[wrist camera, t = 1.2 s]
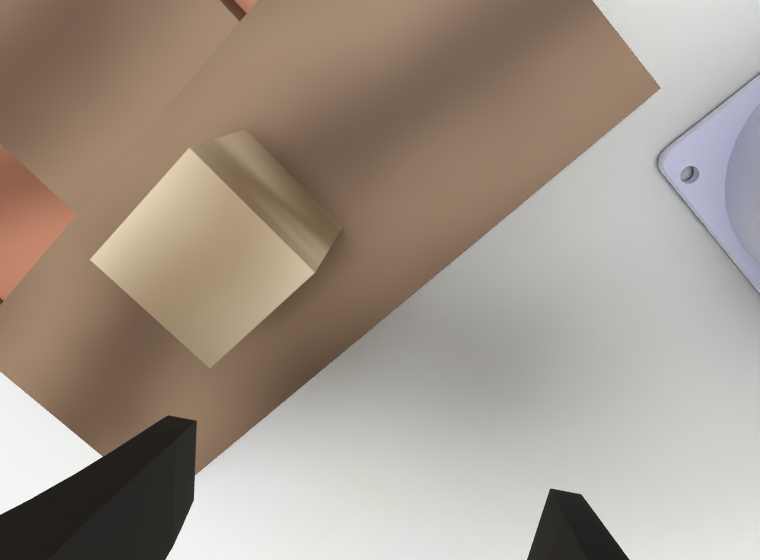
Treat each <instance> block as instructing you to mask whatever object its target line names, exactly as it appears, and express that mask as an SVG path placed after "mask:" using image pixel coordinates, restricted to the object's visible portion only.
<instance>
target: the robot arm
mask: <svg viewBox="0 0 760 560" xmlns="http://www.w3.org/2000/svg"><path fill="white" fill-rule="evenodd" d="M658 162H659V168H660V170H661V172H662V174H663V175H664V176H665V177H666V178H667V180H668V181H669V182H670V183H671V185H672V186H673V187H674V188H675V190H676V191H677V192H678V193H679V195H680V196H681V197H682V198H683V199H684V201H685V202H686V203H687V204H688V206H689V207H690V208H691V209H692V211H693V212H694V213H695V214H696V216H697V217H698V218H699V219H700V221H701V222H702V223H703V224H704V225H705V227H706V228H707V229H708V230H709V232H710V233H711V234H712V235H713V237H714V238H715V239H716V240H717V242H718V243H719V244H720V245H721V246H722V248H723V249H724V250H725V251H726V253H727V254H728V255H729V256H730V258H731V259H732V260H733V261H734V263H735V264H736V265H737V266H738V267H739V269H740V270H741V271H742V272H743V274H744V275H745V276H746V277H747V279H748V280H749V281H750V282H751V284H752V285H753V286H754V287H755V288H756V290H757V291H758V292H759V293H760V74H759V75H758V76H757V77H756V78H754V79H753V80H752V81H750V82H749V83H748V84H747V85H745V86H744V87H743V88H742V89H740V90H739V91H738V92H737V93H735V94H734V95H733V96H731V97H730V98H729V99H728V100H726V101H725V102H724V103H723V104H721V105H720V106H719V107H718V108H716V109H715V110H714V111H713V112H711V113H710V114H709V115H707V116H706V117H705V118H704V119H702V120H701V121H700V122H699V123H697V124H696V125H695V126H694V127H692V128H691V129H690V130H688V131H687V132H686V133H685V134H683V135H682V136H681V137H680V138H678V139H677V140H676V141H675V142H673V143H672V144H671V145H670V146H668V147H667V148H666V149H665V150H664V151H663V152H662V153H661V155H660V158H659V160H658ZM689 166H692V167H693V169H694V174H693V176H692V177H691V178H690V179H689V180H687V181H682V180H681V178H680V176H681V172H682V171H683V170H684V168H686V167H689ZM196 431H197V421H196V420H191V419H185V418H180V417H175V416H170V415H168V416H166V417H164V418H163V419H161V420H159V421H158V422H156V423H155V424H153V425H152V426H150V427H149V428H147V429H145V430H144V431H142V432H141V433H139V434H138V435H136V436H135V437H133V438H132V439H130V440H128V441H127V442H125V443H124V444H122V445H121V446H119V447H118V448H116V449H114V450H113V451H111V452H110V453H108V454H107V455H105V456H103V457H102V458H100V459H99V460H97V461H95V462H94V463H92V464H91V465H89V466H87V467H86V468H84V469H82V470H81V471H79V472H78V473H76V474H74V475H72V476H71V477H69V478H67V479H65V480H64V481H62V482H60V483H58V484H56V485H55V486H53V487H51V488H49V489H48V490H46V491H44V492H42V493H41V494H39V495H37V496H35V497H34V498H32V499H30V500H28V501H26V502H24V503H22V504H21V505H19V506H17V507H15V508H13V509H11V510H9V511H7V512H5V513H3V514H1V515H0V560H165V559H166V557H167V556H168V554H169V552H170V551H171V549H172V547H173V545H174V543H175V541H176V539H177V536H178V534H179V532H180V530H181V528H182V526H183V523H184V521H185V519H186V517H187V514H188V512H189V510H190V507H191V505H192V503H193V500H194V481H195V456H196ZM527 560H629V558H628V557H627V556H626V554H625V553H624V552H623V550H622V549H621V548H620V546H619V545H618V544H617V542H616V541H615V540H614V538H613V537H612V536H611V534H610V533H609V531H608V530H607V529H606V527H605V526H604V525H603V523H602V522H601V520H600V519H599V518H598V516H597V515H596V514H595V512H594V511H593V510H592V508H591V507H590V505H589V504H588V503H587V501H586V500H585V499H584V498H583V496H582V495H581V494H576V493H571V492H566V491H561V490H555V489H550V491H549V494H548V497H547V500H546V503H545V506H544V509H543V513H542V516H541V519H540V522H539V525H538V528H537V531H536V534H535V537H534V540H533V543H532V547H531V550H530V553H529V556H528V559H527Z"/></svg>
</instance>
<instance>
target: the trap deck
mask: <svg viewBox="0 0 760 560" xmlns="http://www.w3.org/2000/svg"><path fill="white" fill-rule="evenodd" d="M659 89H660V87H659V85H658V84H657V83H656V81H655V80H654V79H653V78H652V76H651V75H650V74H649V72H648V71H647V70H646V69H645V67H644V66H643V65H642V63H641V62H640V61H639V60H638V58H637V57H636V56H635V55H634V53H633V52H632V51H631V49H630V48H629V47H628V46H627V44H626V43H625V42H624V40H623V39H622V38H621V37H620V35H619V34H618V33H617V31H616V30H615V29H614V28H613V26H612V25H611V24H610V23H609V21H608V20H607V19H606V17H605V16H604V15H603V14H602V12H601V11H600V10H599V8H598V7H597V6H596V5H595V3H594V2H593V1H592V0H0V372H2V373H3V374H4V375H5V376H6V377H8V378H9V379H10V380H11V381H12V382H14V383H15V384H16V385H17V386H19V387H20V388H21V389H22V390H23V391H25V392H26V393H27V394H28V395H29V396H31V397H32V398H33V399H34V400H35V401H37V402H38V403H39V404H40V405H41V406H43V407H44V408H45V409H46V410H47V411H49V412H50V413H51V414H52V415H53V416H55V417H56V418H57V419H58V420H60V421H61V422H62V423H63V424H64V425H66V426H67V427H68V428H69V429H70V430H72V431H73V432H74V433H75V434H76V435H78V436H79V437H80V438H81V439H82V440H84V441H85V442H86V443H87V444H88V445H90V446H91V447H92V448H93V449H94V450H96V451H97V452H98V453H99V454H101V455H102V456H105V455H107V454H108V453H110V452H111V451H113V450H114V449H116V448H118V447H119V446H121V445H122V444H124V443H125V442H127V441H128V440H130V439H132V438H133V437H135V436H136V435H138V434H139V433H141V432H142V431H144V430H145V429H147V428H149V427H150V426H152V425H153V424H155V423H156V422H158V421H159V420H161V419H163V418H164V417H166V416H168V415H170V416H175V417H180V418H185V419H191V420H196V421H197V431H196V456H195V475H196V474H197V473H198V472H199V471H201V470H202V469H203V468H204V467H205V466H207V465H208V464H209V463H210V462H211V461H213V460H214V459H215V458H216V457H217V456H219V455H220V454H221V453H222V452H224V451H225V450H226V449H227V448H228V447H230V446H231V445H232V444H233V443H234V442H236V441H237V440H238V439H239V438H240V437H242V436H243V435H244V434H245V433H246V432H248V431H249V430H250V429H251V428H252V427H254V426H255V425H256V424H257V423H258V422H260V421H261V420H262V419H263V418H264V417H266V416H267V415H268V414H269V413H270V412H272V411H273V410H274V409H275V408H276V407H278V406H279V405H280V404H281V403H282V402H284V401H285V400H286V399H287V398H288V397H290V396H291V395H292V394H293V393H295V392H296V391H297V390H298V389H299V388H301V387H302V386H303V385H304V384H305V383H307V382H308V381H309V380H310V379H311V378H313V377H314V376H315V375H316V374H317V373H319V372H320V371H321V370H322V369H323V368H325V367H326V366H327V365H328V364H329V363H331V362H332V361H333V360H334V359H335V358H337V357H338V356H339V355H340V354H341V353H343V352H344V351H345V350H346V349H347V348H349V347H350V346H351V345H352V344H353V343H355V342H356V341H357V340H358V339H359V338H361V337H362V336H363V335H364V334H366V333H367V332H368V331H369V330H370V329H372V328H373V327H374V326H375V325H376V324H378V323H379V322H380V321H381V320H382V319H384V318H385V317H386V316H387V315H388V314H390V313H391V312H392V311H393V310H394V309H396V308H397V307H398V306H399V305H400V304H402V303H403V302H404V301H405V300H406V299H408V298H409V297H410V296H411V295H412V294H414V293H415V292H416V291H417V290H418V289H420V288H421V287H422V286H423V285H424V284H426V283H427V282H428V281H429V280H430V279H432V278H433V277H434V276H435V275H437V274H438V273H439V272H440V271H441V270H443V269H444V268H445V267H446V266H447V265H449V264H450V263H451V262H452V261H453V260H455V259H456V258H457V257H458V256H459V255H461V254H462V253H463V252H464V251H465V250H467V249H468V248H469V247H470V246H471V245H473V244H474V243H475V242H476V241H477V240H479V239H480V238H481V237H482V236H483V235H485V234H486V233H487V232H488V231H489V230H491V229H492V228H493V227H494V226H495V225H497V224H498V223H499V222H500V221H502V220H503V219H504V218H505V217H506V216H508V215H509V214H510V213H511V212H512V211H514V210H515V209H516V208H517V207H518V206H520V205H521V204H522V203H523V202H524V201H526V200H527V199H528V198H529V197H530V196H532V195H533V194H534V193H535V192H536V191H538V190H539V189H540V188H541V187H542V186H544V185H545V184H546V183H547V182H548V181H550V180H551V179H552V178H553V177H554V176H556V175H557V174H558V173H559V172H560V171H562V170H563V169H564V168H565V167H566V166H568V165H569V164H570V163H571V162H573V161H574V160H575V159H576V158H577V157H579V156H580V155H581V154H582V153H583V152H585V151H586V150H587V149H588V148H589V147H591V146H592V145H593V144H594V143H595V142H597V141H598V140H599V139H600V138H601V137H603V136H604V135H605V134H606V133H607V132H609V131H610V130H611V129H612V128H613V127H615V126H616V125H617V124H618V123H619V122H621V121H622V120H623V119H624V118H625V117H627V116H628V115H629V114H630V113H631V112H633V111H634V110H635V109H636V108H637V107H639V106H640V105H641V104H642V103H644V102H645V101H646V100H647V99H648V98H650V97H651V96H652V95H653V94H654V93H656V92H657V91H658V90H659ZM243 129H247V130H248V131H249V132H250V133H251V134H252V135H253V136H254V137H255V138H256V139H257V140H258V141H259V142H260V143H261V144H262V145H263V147H264V148H265V149H266V150H267V151H268V152H269V153H270V154H271V155H272V156H273V157H274V158H275V159H276V160H277V161H278V162H279V163H280V164H281V165H282V166H283V167H284V168H285V169H286V170H287V171H288V172H289V173H290V174H291V175H292V176H293V177H294V178H295V179H296V180H297V181H298V182H299V183H300V185H301V186H302V187H303V188H304V189H305V190H306V191H307V192H308V193H309V194H310V195H311V196H312V197H313V198H314V199H315V200H316V201H317V202H318V203H319V204H320V205H321V206H322V207H323V208H324V209H325V210H326V211H327V212H328V213H329V214H330V215H331V216H332V217H333V218H334V219H335V220H336V222H337V223H338V224H339V225H340V226H341V227H342V229H341V231H340V233H339V234H338V236H337V238H336V239H335V241H334V242H333V244H332V246H331V247H330V249H329V251H328V252H327V254H326V256H325V257H324V259H323V260H322V262H321V264H320V265H319V267H318V269H317V270H316V272H315V273H314V274H313V275H312V276H311V277H310V278H309V279H307V280H306V281H305V282H304V283H303V284H302V285H301V286H300V287H299V288H298V289H296V290H295V291H294V292H293V293H292V294H291V295H290V296H289V297H288V298H287V299H286V300H284V301H283V302H282V303H281V304H280V305H279V306H278V307H277V308H276V309H275V310H273V311H272V312H271V313H270V314H269V315H268V316H267V317H266V318H265V319H264V320H263V321H261V322H260V323H259V324H258V325H257V326H256V327H255V328H254V329H253V330H252V331H250V332H249V333H248V334H247V335H246V336H245V337H244V338H243V339H242V340H241V341H240V342H238V343H237V344H236V345H235V346H234V347H233V348H232V349H231V350H230V351H229V352H227V353H226V354H225V355H224V356H223V357H222V358H221V359H220V360H219V361H218V362H216V363H215V364H214V365H213V366H212V367H211V368H209V367H208V366H207V365H205V364H204V363H203V362H202V361H201V360H200V359H199V358H198V357H197V356H196V355H194V354H193V353H192V352H191V351H190V350H189V349H188V348H187V347H186V346H184V345H183V344H182V343H181V342H180V341H179V340H178V339H177V338H176V337H175V336H173V335H172V334H171V333H170V332H169V331H168V330H167V329H166V328H165V327H164V326H162V325H161V324H160V323H159V322H158V321H157V320H156V319H155V318H154V317H153V316H151V315H150V314H149V313H148V312H147V311H146V310H145V309H144V308H143V307H141V306H140V305H139V304H138V303H137V302H136V301H135V300H134V299H133V298H132V297H130V296H129V295H128V294H127V293H126V292H125V291H124V290H123V289H122V288H121V287H119V286H118V285H117V284H116V283H115V282H114V281H113V280H112V279H111V278H109V277H108V276H107V275H106V274H105V273H104V272H103V271H102V270H101V269H100V268H98V267H97V266H96V265H95V264H94V263H93V262H92V261H91V260H90V259H91V258H92V257H93V255H94V254H95V253H96V252H97V251H98V250H99V249H100V248H101V246H102V245H103V244H104V243H105V242H106V241H107V240H108V239H109V237H110V236H111V235H112V234H113V233H114V232H115V231H116V230H117V228H118V227H119V226H120V225H121V224H122V223H123V222H124V221H125V219H126V218H127V217H128V216H129V215H130V214H131V213H132V212H133V211H134V209H135V208H136V207H137V206H138V205H139V204H140V203H141V202H142V200H143V199H144V198H145V197H146V196H147V195H148V194H149V193H150V191H151V190H152V189H153V188H154V187H155V186H156V185H157V184H158V182H159V181H160V180H161V179H162V178H163V177H164V176H165V175H166V173H167V172H168V171H169V170H170V169H171V168H172V167H173V166H174V164H175V163H176V162H177V161H178V160H179V159H180V158H181V157H182V155H183V154H184V153H185V152H186V151H187V150H188V149H189V148H190V147H193V146H196V145H199V144H202V143H205V142H208V141H211V140H214V139H217V138H220V137H222V136H225V135H228V134H231V133H234V132H237V131H240V130H243Z"/></svg>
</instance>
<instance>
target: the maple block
mask: <svg viewBox="0 0 760 560" xmlns="http://www.w3.org/2000/svg"><path fill="white" fill-rule="evenodd" d="M341 229H342V227H341V226H340V225H339V224H338V223H337V222H336V220H335V219H334V218H333V217H332V216H331V215H330V214H329V213H328V212H327V211H326V210H325V209H324V208H323V207H322V206H321V205H320V204H319V203H318V202H317V201H316V200H315V199H314V198H313V197H312V196H311V195H310V194H309V193H308V192H307V191H306V190H305V189H304V188H303V187H302V186H301V185H300V183H299V182H298V181H297V180H296V179H295V178H294V177H293V176H292V175H291V174H290V173H289V172H288V171H287V170H286V169H285V168H284V167H283V166H282V165H281V164H280V163H279V162H278V161H277V160H276V159H275V158H274V157H273V156H272V155H271V154H270V153H269V152H268V151H267V150H266V149H265V148H264V147H263V145H262V144H261V143H260V142H259V141H258V140H257V139H256V138H255V137H254V136H253V135H252V134H251V133H250V132H249V131H248V130H247V129H243V130H240V131H237V132H234V133H231V134H228V135H225V136H222V137H220V138H217V139H214V140H211V141H208V142H205V143H202V144H199V145H196V146H193V147H190V148H189V149H188V150H187V151H186V152H185V153H184V154H183V155H182V157H181V158H180V159H179V160H178V161H177V162H176V163H175V164H174V166H173V167H172V168H171V169H170V170H169V171H168V172H167V173H166V175H165V176H164V177H163V178H162V179H161V180H160V181H159V182H158V184H157V185H156V186H155V187H154V188H153V189H152V190H151V191H150V193H149V194H148V195H147V196H146V197H145V198H144V199H143V200H142V202H141V203H140V204H139V205H138V206H137V207H136V208H135V209H134V211H133V212H132V213H131V214H130V215H129V216H128V217H127V218H126V219H125V221H124V222H123V223H122V224H121V225H120V226H119V227H118V228H117V230H116V231H115V232H114V233H113V234H112V235H111V236H110V237H109V239H108V240H107V241H106V242H105V243H104V244H103V245H102V246H101V248H100V249H99V250H98V251H97V252H96V253H95V254H94V255H93V257H92V258H91V259H90V260H91V261H92V262H93V263H94V264H95V265H96V266H97V267H98V268H100V269H101V270H102V271H103V272H104V273H105V274H106V275H107V276H108V277H109V278H111V279H112V280H113V281H114V282H115V283H116V284H117V285H118V286H119V287H121V288H122V289H123V290H124V291H125V292H126V293H127V294H128V295H129V296H130V297H132V298H133V299H134V300H135V301H136V302H137V303H138V304H139V305H140V306H141V307H143V308H144V309H145V310H146V311H147V312H148V313H149V314H150V315H151V316H153V317H154V318H155V319H156V320H157V321H158V322H159V323H160V324H161V325H162V326H164V327H165V328H166V329H167V330H168V331H169V332H170V333H171V334H172V335H173V336H175V337H176V338H177V339H178V340H179V341H180V342H181V343H182V344H183V345H184V346H186V347H187V348H188V349H189V350H190V351H191V352H192V353H193V354H194V355H196V356H197V357H198V358H199V359H200V360H201V361H202V362H203V363H204V364H205V365H207V366H208V367H209V368H211V367H212V366H213V365H214V364H215V363H216V362H218V361H219V360H220V359H221V358H222V357H223V356H224V355H225V354H226V353H227V352H229V351H230V350H231V349H232V348H233V347H234V346H235V345H236V344H237V343H238V342H240V341H241V340H242V339H243V338H244V337H245V336H246V335H247V334H248V333H249V332H250V331H252V330H253V329H254V328H255V327H256V326H257V325H258V324H259V323H260V322H261V321H263V320H264V319H265V318H266V317H267V316H268V315H269V314H270V313H271V312H272V311H273V310H275V309H276V308H277V307H278V306H279V305H280V304H281V303H282V302H283V301H284V300H286V299H287V298H288V297H289V296H290V295H291V294H292V293H293V292H294V291H295V290H296V289H298V288H299V287H300V286H301V285H302V284H303V283H304V282H305V281H306V280H307V279H309V278H310V277H311V276H312V275H313V274H314V273H315V272H316V270H317V269H318V267H319V265H320V264H321V262H322V260H323V259H324V257H325V256H326V254H327V252H328V251H329V249H330V247H331V246H332V244H333V242H334V241H335V239H336V238H337V236H338V234H339V233H340V231H341Z"/></svg>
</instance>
